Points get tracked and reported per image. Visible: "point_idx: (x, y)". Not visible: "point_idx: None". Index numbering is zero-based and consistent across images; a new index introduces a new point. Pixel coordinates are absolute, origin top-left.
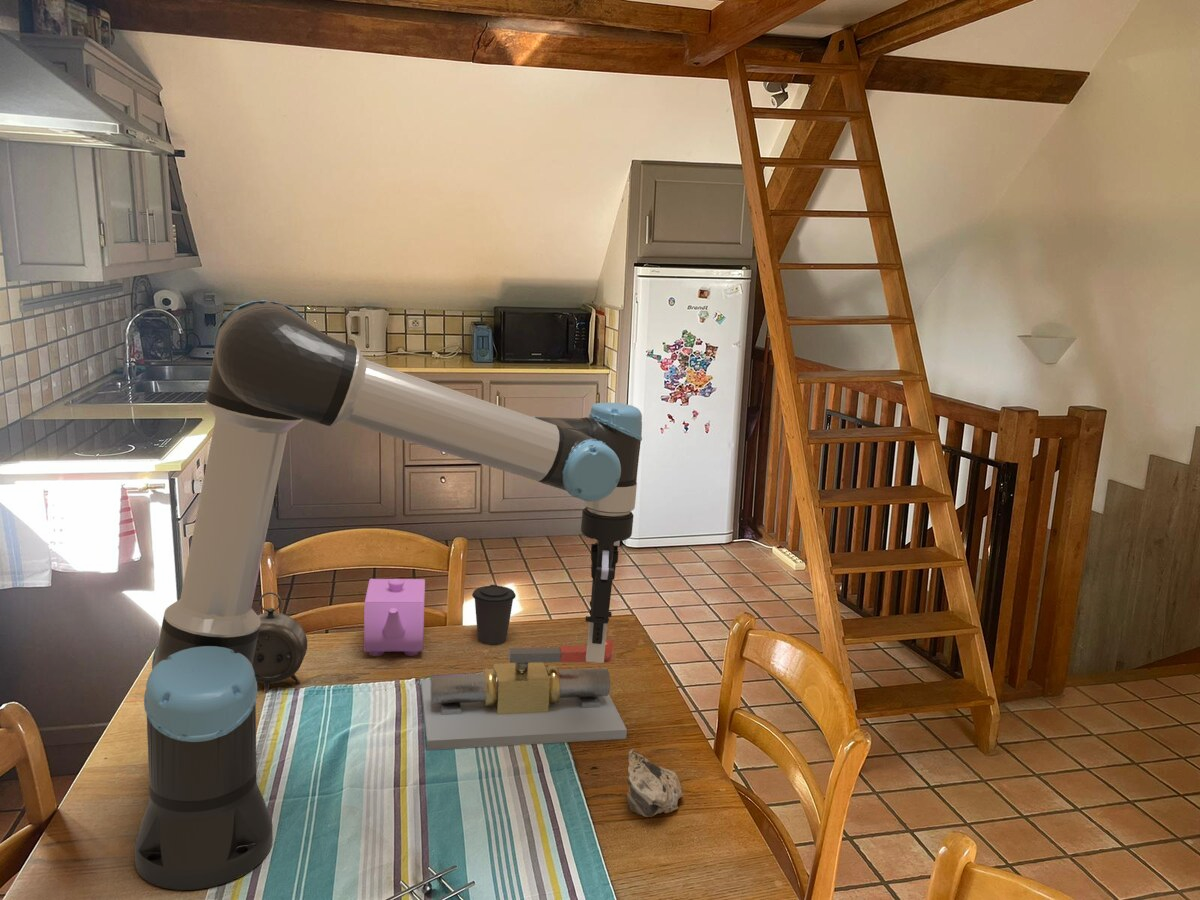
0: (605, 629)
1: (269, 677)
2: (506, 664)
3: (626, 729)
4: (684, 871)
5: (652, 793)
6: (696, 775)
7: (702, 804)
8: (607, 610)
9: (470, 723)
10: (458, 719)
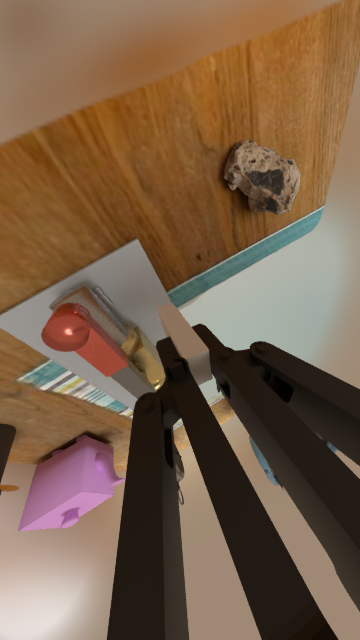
0: (199, 339)
1: None
2: None
3: (137, 239)
4: (324, 141)
5: (299, 177)
6: (188, 117)
7: (244, 110)
8: (313, 369)
9: None
10: None
